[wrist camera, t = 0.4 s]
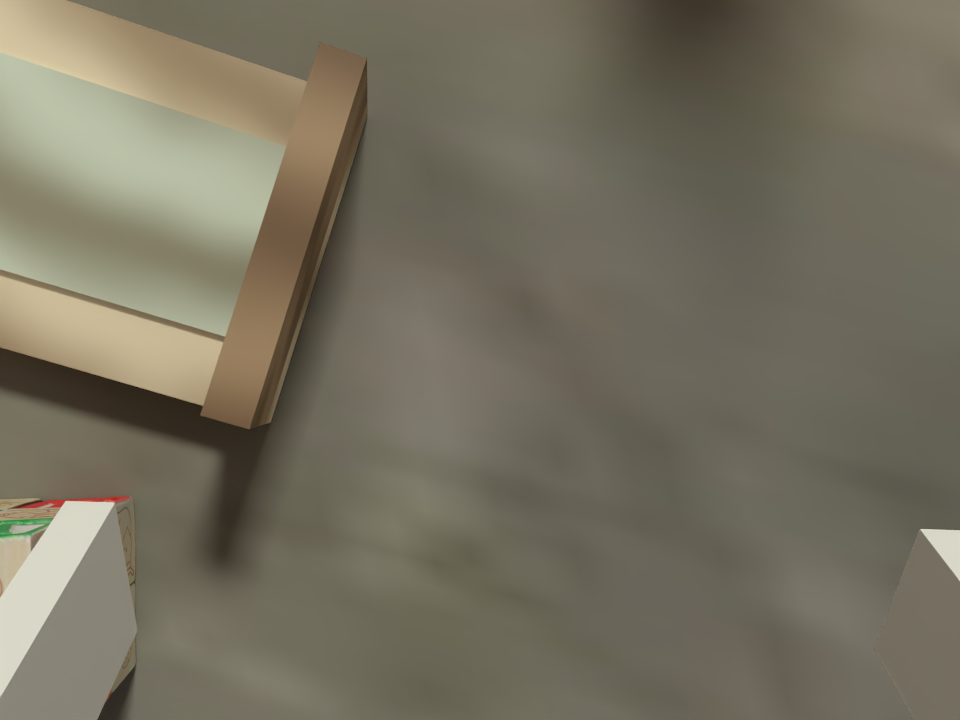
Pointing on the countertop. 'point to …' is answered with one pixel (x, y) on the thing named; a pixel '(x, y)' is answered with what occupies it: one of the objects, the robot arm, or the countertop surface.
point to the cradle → (165, 203)
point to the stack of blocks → (21, 523)
